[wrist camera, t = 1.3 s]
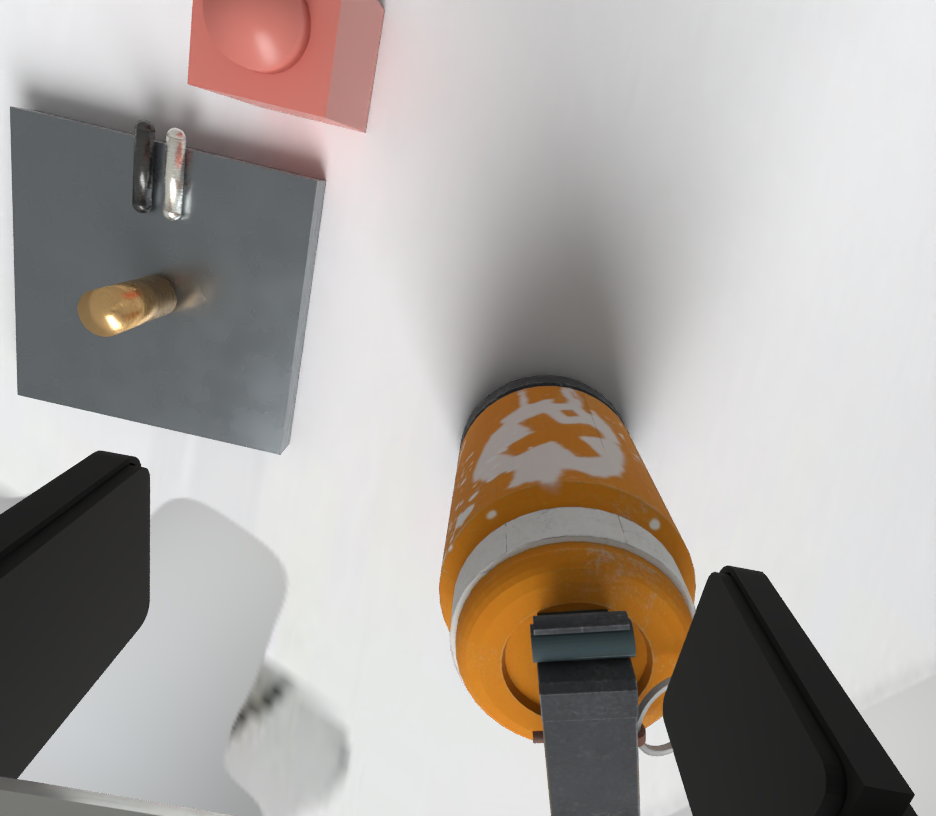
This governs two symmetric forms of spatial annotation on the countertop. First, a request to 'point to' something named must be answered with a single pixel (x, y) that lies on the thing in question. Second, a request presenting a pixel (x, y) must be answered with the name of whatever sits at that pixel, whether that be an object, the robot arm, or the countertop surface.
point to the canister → (565, 587)
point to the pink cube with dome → (289, 55)
